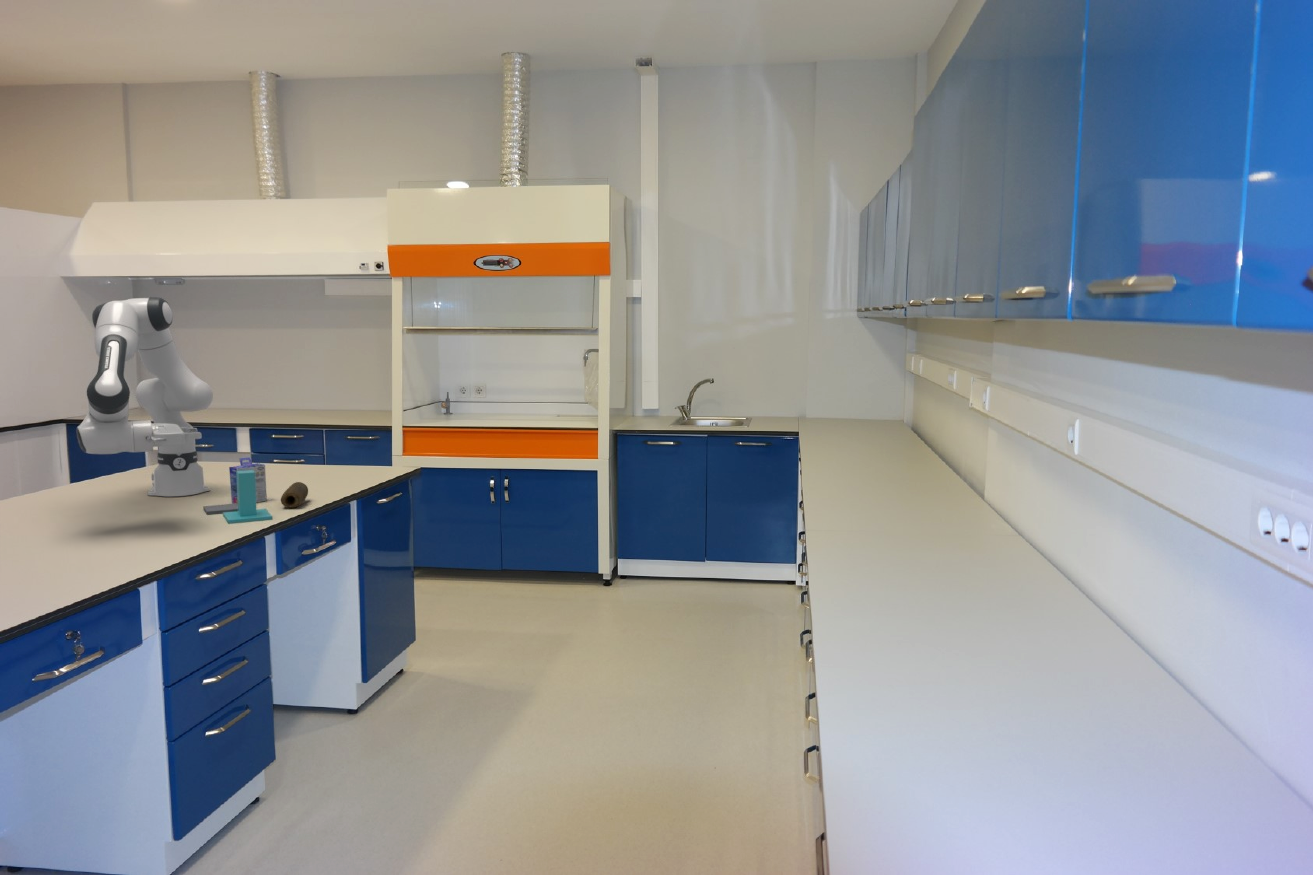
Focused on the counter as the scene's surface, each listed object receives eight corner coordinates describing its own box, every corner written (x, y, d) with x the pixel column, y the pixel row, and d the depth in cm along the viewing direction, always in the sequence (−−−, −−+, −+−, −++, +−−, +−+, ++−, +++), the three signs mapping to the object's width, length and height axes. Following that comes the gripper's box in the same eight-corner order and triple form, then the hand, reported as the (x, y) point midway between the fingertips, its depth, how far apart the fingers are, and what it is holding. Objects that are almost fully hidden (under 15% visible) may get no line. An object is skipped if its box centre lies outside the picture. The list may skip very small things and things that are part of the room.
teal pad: (222, 515, 274) (222, 512, 274) (265, 511, 281) (265, 508, 281) (228, 523, 264) (228, 520, 264) (272, 519, 271) (272, 516, 271)
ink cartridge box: (259, 498, 300) (257, 455, 298) (268, 501, 297) (266, 457, 295) (229, 503, 292) (228, 459, 291) (238, 505, 289) (236, 461, 287)
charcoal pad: (203, 509, 283) (203, 506, 282) (245, 505, 289) (244, 502, 289) (206, 514, 275) (206, 511, 275) (249, 511, 281) (249, 507, 281)
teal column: (238, 513, 273) (236, 471, 271) (254, 512, 275) (252, 470, 274) (240, 516, 269) (238, 473, 268) (256, 515, 272) (254, 472, 270)
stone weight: (286, 500, 299) (286, 480, 298) (309, 500, 300) (308, 480, 299) (280, 510, 284) (279, 489, 283) (303, 509, 286) (303, 488, 285)
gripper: (146, 429, 246) (203, 426, 254) (141, 420, 263) (194, 418, 271) (148, 452, 247) (204, 448, 255) (143, 442, 264) (196, 439, 272)
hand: (199, 433), depth 263 cm, fingers open, 8 cm apart
